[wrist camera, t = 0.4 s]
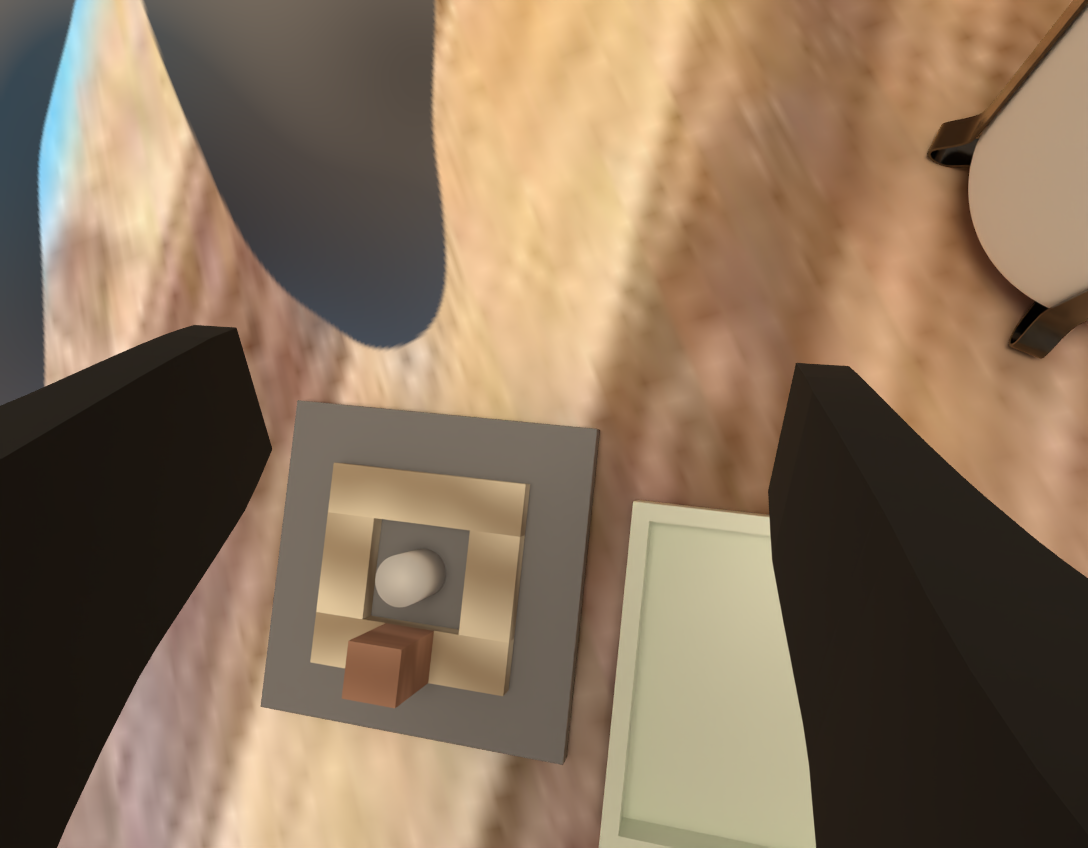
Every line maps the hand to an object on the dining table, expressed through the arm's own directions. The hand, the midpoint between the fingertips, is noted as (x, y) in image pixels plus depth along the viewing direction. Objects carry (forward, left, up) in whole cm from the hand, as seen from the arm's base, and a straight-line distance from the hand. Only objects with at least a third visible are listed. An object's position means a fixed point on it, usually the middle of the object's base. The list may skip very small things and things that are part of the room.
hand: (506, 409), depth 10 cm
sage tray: (-10, -7, -27) cm, 30 cm away
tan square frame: (-7, +11, -26) cm, 29 cm away
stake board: (-7, +11, -27) cm, 30 cm away
